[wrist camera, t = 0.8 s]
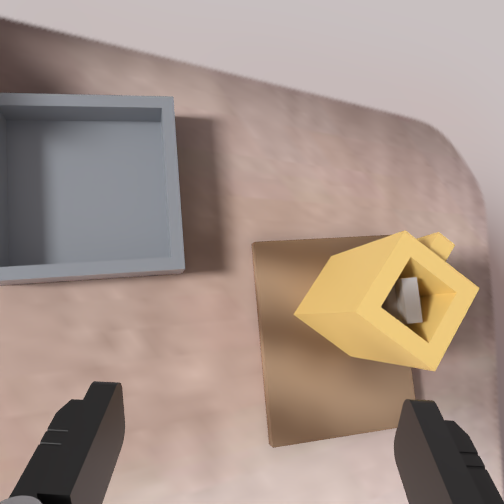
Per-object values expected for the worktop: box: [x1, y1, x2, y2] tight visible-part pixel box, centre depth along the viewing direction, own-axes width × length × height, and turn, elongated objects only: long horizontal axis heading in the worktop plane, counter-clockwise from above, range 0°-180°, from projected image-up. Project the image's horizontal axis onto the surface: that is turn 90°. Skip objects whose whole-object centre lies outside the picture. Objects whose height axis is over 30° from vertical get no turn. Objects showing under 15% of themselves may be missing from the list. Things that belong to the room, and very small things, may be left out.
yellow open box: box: [293, 231, 479, 371], centre depth 29 cm, size 7×5×10 cm
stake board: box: [252, 235, 423, 448], centre depth 29 cm, size 14×11×10 cm
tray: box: [0, 93, 185, 285], centre depth 30 cm, size 12×12×3 cm
